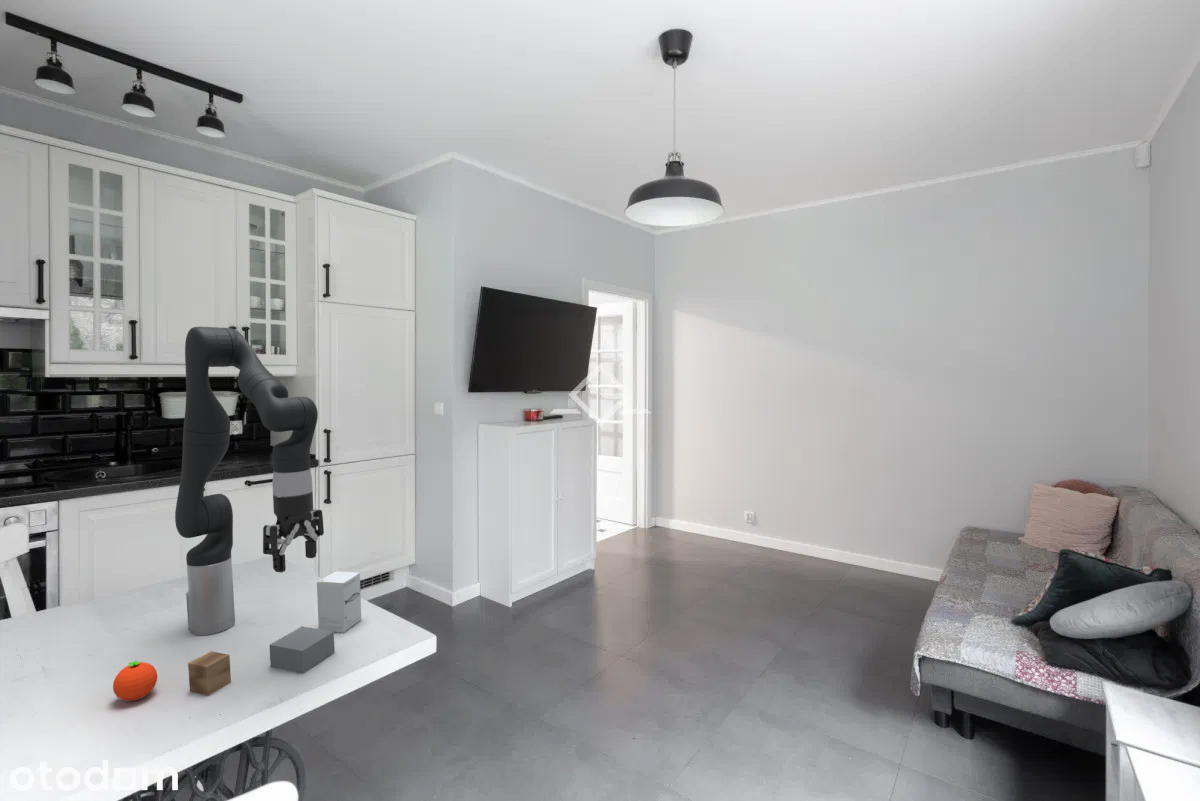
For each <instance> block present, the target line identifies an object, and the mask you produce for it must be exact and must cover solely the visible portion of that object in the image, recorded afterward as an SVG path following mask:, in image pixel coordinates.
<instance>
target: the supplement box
mask: <svg viewBox="0 0 1200 801" xmlns="http://www.w3.org/2000/svg"><path fill="white" fill-rule="evenodd" d="M360 573H361V572H355V571H354V572H353V571H352V572H351V571H339V570H338V571H333V572H332V573H330V574H328V575H326V576H324V577H323V578H321V579H319V580H317V581H316V593H317V595H316V596H317V617H318V618H317V620H318V621H317V622H318V629H321V630H327V631H333V632H334V633H340V634H344V633H346V632H347V631H348V630H349V629H350V628H352V627H353V626H355V625H356V624H357V623H359V622H360V621H362V599H361V598H362V596H361V574H360Z"/></svg>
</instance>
